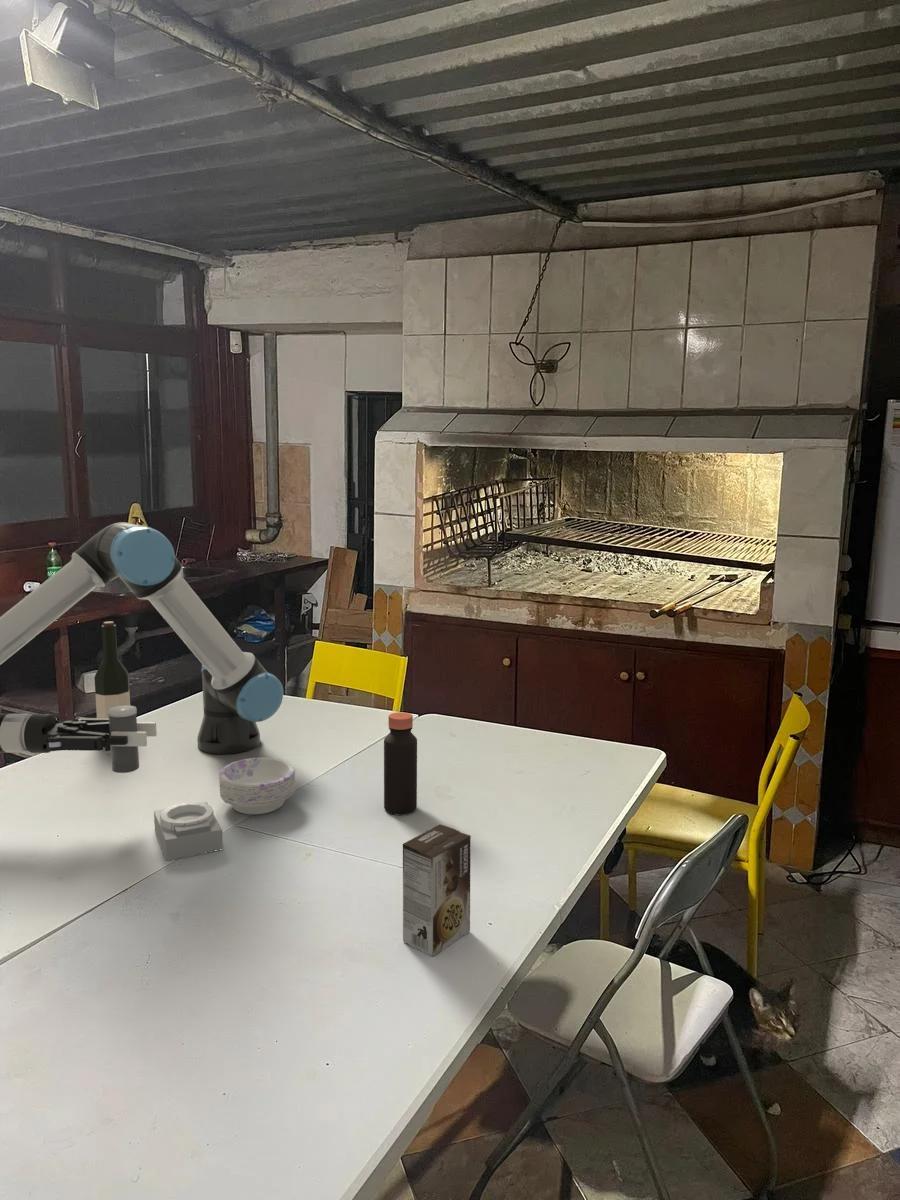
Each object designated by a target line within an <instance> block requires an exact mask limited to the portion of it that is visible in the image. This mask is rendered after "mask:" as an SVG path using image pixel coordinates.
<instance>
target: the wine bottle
mask: <svg viewBox="0 0 900 1200" xmlns="http://www.w3.org/2000/svg"><path fill="white" fill-rule="evenodd" d="M101 637H102V638H101V639H102V651H103V654H102V656H103V659H102V661H101V663H100V665H99V667H98V669H97V671H96V673H95V675H94V691H95V694H94V695H95V710H96V718H109V716H108V710H109V709H110V708H112V707H116V706H124V705H129V706H131V699H130V697H131V696H130V693H131V692H130V679H129V671H128V670H127V668H126V667H125V666H124V664H123V662H121V660H120V659H119V658H118V645H117V624H115V622H114V621H113V620H112V621H111V620H110V621H104V622H103V624H102V625H101Z"/></svg>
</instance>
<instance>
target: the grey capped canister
mask: <svg viewBox="0 0 900 1200" xmlns="http://www.w3.org/2000/svg"><path fill="white" fill-rule="evenodd" d="M137 713H138V711H137V707H136V706H135V705H130V706H129V705H124V706H116V707H112V708H110V709H109V710H108V716H109V727H110V736H111V732H112V731H119V732H137V722H138V720H137V719H138V718H137ZM110 748H111V750H110V756H111V757H110V759H111V771H112V772H114V773H119V774H125V773H131V772H134V771H137V770H138V769H140V757H139V746H112V745H110Z"/></svg>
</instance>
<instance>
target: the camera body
mask: <svg viewBox="0 0 900 1200" xmlns="http://www.w3.org/2000/svg"><path fill="white" fill-rule="evenodd" d="M153 814H154V815H153V817H154V819H153V820H154V821H153V822H154V831H155V835H156V837H157V839H158V841H159V844H160V847H161V850H162V853H163V855H164V858H165V860H166V861H172V860H178V859H183V858H189V857H192V856H193V855H194V856H198V854H199V855H202V854H201V853H204V854H206V853H205V852H210V853H212V852H211V851H215V850H220V849H223V850H224V847H223V846H224V845H223V844H224V843H223V840H224V839H223V828H222V827H221V825H220V823H219V822H218V819H217V817H216V816H215V813H214V809H213V807H212V805H210V804H208V802H207V801H204V802H197V801H195V802H194V801H189V802H181V803H176V804H174V805H170V806H168V807H166V808H162V809H156V810H155V809H154V810H153ZM220 851H221V850H220ZM215 852H216V851H215Z"/></svg>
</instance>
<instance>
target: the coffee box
mask: <svg viewBox="0 0 900 1200" xmlns="http://www.w3.org/2000/svg"><path fill="white" fill-rule="evenodd" d="M471 837H472V836H471V835H469V834H466V833H463V832H461V831H460V830H457V829H455V828H452V827H449V826H447V825H444V824H441V823H440V824H438V825H437V824H436V825H435V826H434V827H431V828H430V829H428V830H426V831H424V832H422V833H420V834H418V835H417V836H415V837H413V838H411V839H409V840H407V841H406V842H403V843H402V942H403V941H404V942H405V944H406V943H408V944H409V945H408V944H407V945H408V946H410V945H412V946H413V947H412V946H411V947H412V948H414V947H415V948H414V949H416V948H417V949H416V950H418V949H419V951H420V950H421V951H420V952H422V951H423V952H422V953H425V954H426V953H427V955H428V956H431V957H436V956H437V955H438V954H440V953H441V952H442V951H444V950H445V949H446V948H448V947H449V946H451V945H452V944H453V943H455V942H456V941H458V940H459V939H461V938H463V937H464V936H465V935H467V934H468V933H469V932H470V931H471V843H472V842H471V841H472V840H471ZM463 935H464V936H463ZM404 942H403V943H404Z"/></svg>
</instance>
